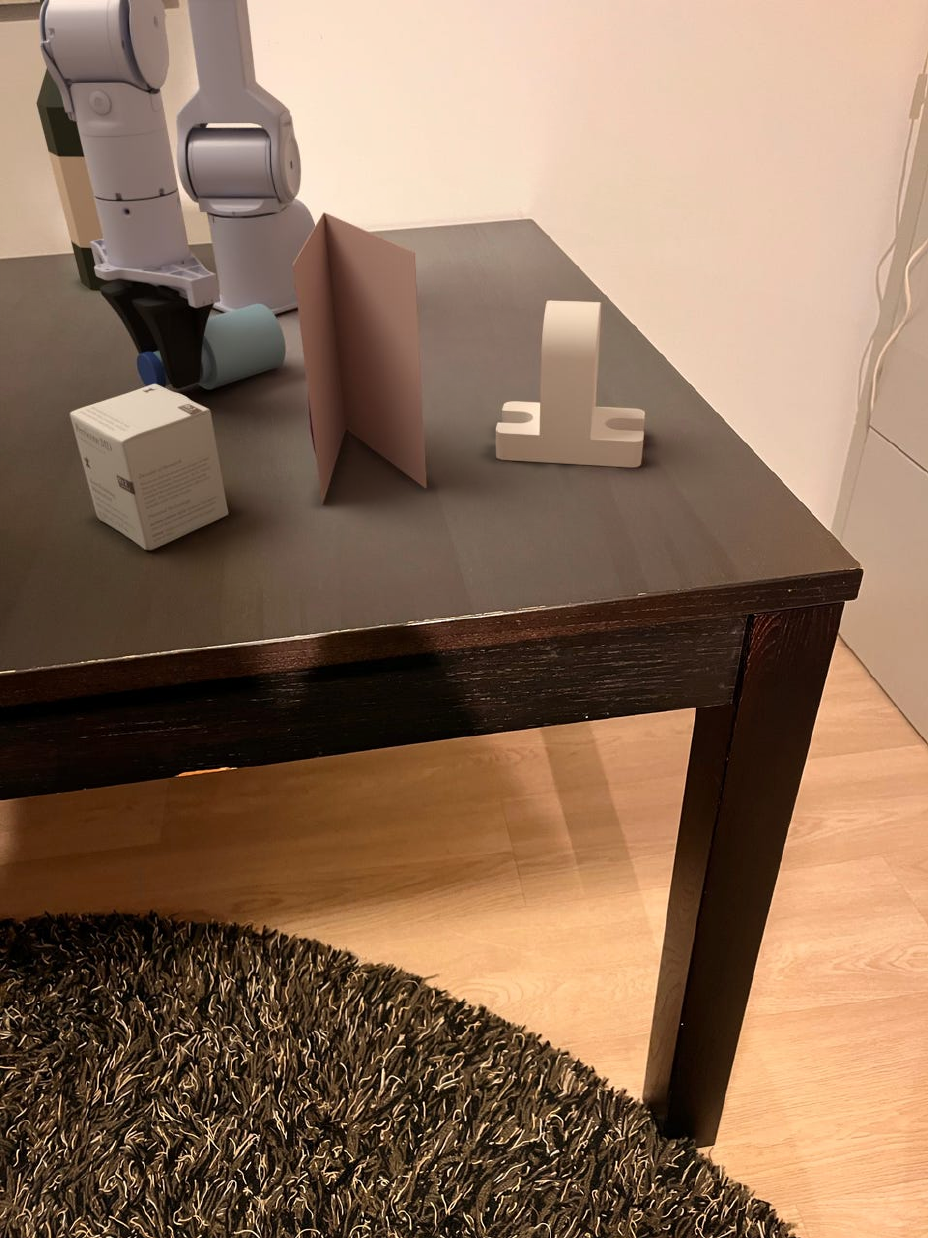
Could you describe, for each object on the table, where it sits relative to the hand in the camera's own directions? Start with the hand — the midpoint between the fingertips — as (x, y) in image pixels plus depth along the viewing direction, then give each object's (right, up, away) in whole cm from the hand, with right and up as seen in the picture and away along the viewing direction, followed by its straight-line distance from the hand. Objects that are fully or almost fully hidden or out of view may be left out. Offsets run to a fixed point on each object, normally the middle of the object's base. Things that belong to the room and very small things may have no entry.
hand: (174, 378), depth 76 cm
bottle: (+6, +5, +4) cm, 9 cm away
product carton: (+4, -13, -14) cm, 19 cm away
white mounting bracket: (+30, -7, -7) cm, 32 cm away
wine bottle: (-13, +17, +27) cm, 34 cm away
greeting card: (+16, -8, -9) cm, 20 cm away
